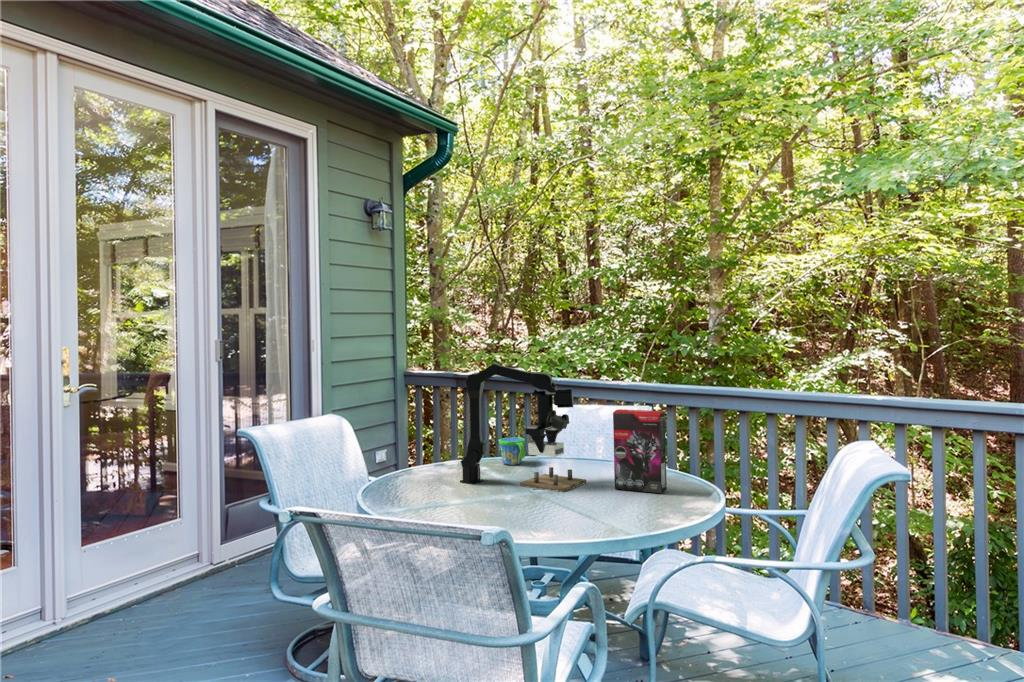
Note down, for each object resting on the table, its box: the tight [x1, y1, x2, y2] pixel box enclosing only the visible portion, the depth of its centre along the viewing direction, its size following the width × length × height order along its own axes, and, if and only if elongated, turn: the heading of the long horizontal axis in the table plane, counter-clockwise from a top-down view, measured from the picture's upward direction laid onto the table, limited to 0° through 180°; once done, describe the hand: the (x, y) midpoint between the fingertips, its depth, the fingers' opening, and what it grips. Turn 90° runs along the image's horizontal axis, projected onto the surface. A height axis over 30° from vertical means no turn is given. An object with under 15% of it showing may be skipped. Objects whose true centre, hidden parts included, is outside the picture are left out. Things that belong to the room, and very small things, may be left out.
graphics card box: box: [612, 409, 668, 494], centre depth 245 cm, size 17×7×27 cm, turn 62°
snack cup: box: [498, 436, 526, 466], centre depth 294 cm, size 16×10×10 cm
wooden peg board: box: [519, 466, 588, 492], centre depth 256 cm, size 16×18×5 cm
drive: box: [527, 440, 565, 458], centre depth 258 cm, size 6×11×4 cm, turn 55°
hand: (546, 451), depth 258 cm, fingers closed on drive, 6 cm apart
